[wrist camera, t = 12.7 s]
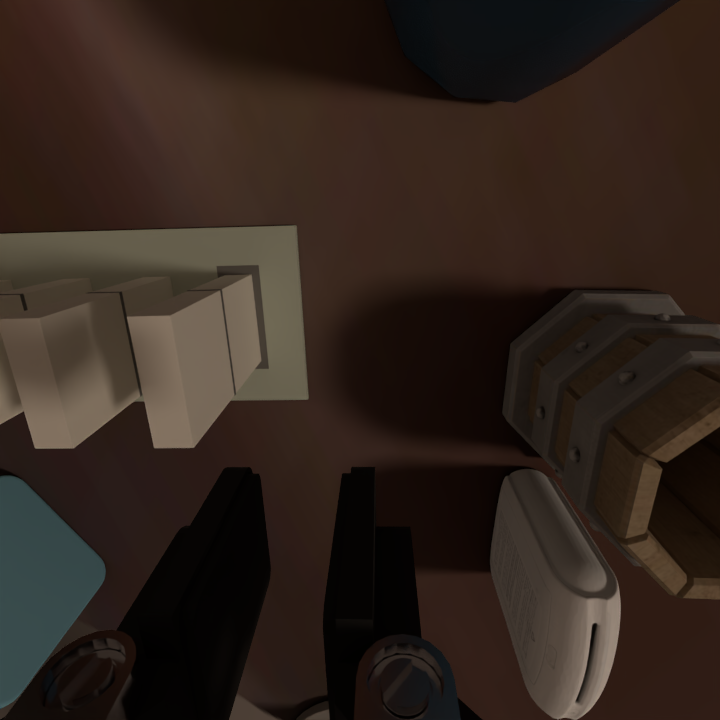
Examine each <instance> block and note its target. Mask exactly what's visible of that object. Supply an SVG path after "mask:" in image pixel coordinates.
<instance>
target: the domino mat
mask: <svg viewBox="0 0 720 720" xmlns="http://www.w3.org/2000/svg"><path fill="white" fill-rule="evenodd" d="M246 274H252V282H253V291H254V300H255V308H256V317H257V326H258V335H259V344H260V353H261V362H260V363H259V364H258V366H257V367H256V368H255V370H254V371H253V372H252V373H251V375H250V376H249V377H248V379H247V380H246V381H245V382H244V384H243V385H242V386H241V388H240V389H239V390H238V391H237V393H236V395H235V396H234V397H233V398H232V399H231V400H308V398H309V395H308V381H307V367H306V353H305V339H304V324H303V310H302V296H301V282H300V268H299V254H298V240H297V225H292V226H256V227H221V228H185V229H150V230H114V231H79V232H43V233H8V234H0V280H11V282H12V286H13V290H15V289H20V288H24V287H29V286H33V285H38V284H43V283H47V282H52V281H56V280H61V279H78V278H90V281H91V286H92V290H93V291H96V290H100V289H103V288H107V287H110V286H114V285H117V284H121V283H124V282H128V281H131V280H135V279H138V278H142V277H165V276H170V278H171V284H172V290H173V296H177V295H179V294H181V293H184V292H186V291H187V290H191V289H193V288H196V287H198V286H200V285H203V284H205V283H207V282H210V281H212V280H215V279H217V278H219V277H222V276H224V275H246ZM135 401H144V397H143V395H142V396H141V397H139V398H137V399H136V400H135Z"/></svg>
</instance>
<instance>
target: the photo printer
mask: <svg viewBox="0 0 720 720" xmlns="http://www.w3.org/2000/svg"><path fill="white" fill-rule="evenodd" d="M490 568H491V575H492V578H493V582H494V585H495V588H496V591H497V594H498V598H499V601H500V604H501V607H502V611H503V614H504V617H505V620H506V623H507V627H508V630H509V633H510V636H511V640H512V643H513V646H514V650H515V653H516V656H517V659H518V662H519V666H520V669H521V672H522V676H523V679H524V682H525V685H526V688H527V690H528V692H529V694H530V695H531V697H532V699H533V700H534V701H535V702H536V704H537V705H538V706H539V707H540V708H541V709H542V710H543V711H544V712H546V713H547V714H548V715H550V716H551V717H553V718H555V719H560V718H571V719H574V720H576V719H578V718H580V717H582V716H583V715H584V714H586V713H587V712H588V711H589V710H590V709H591V708H592V707H593V705H594V704H595V703H596V701H597V700H598V698H599V697H600V695H601V693H602V691H603V689H604V687H605V685H606V682H607V680H608V677H609V674H610V671H611V668H612V664H613V660H614V656H615V651H616V646H617V641H618V634H619V625H620V612H621V605H620V593H619V587H618V582H617V579H616V576H615V574H614V572H613V571H612V569H611V568H610V566H609V565H608V563H607V561H606V560H605V558H604V557H603V555H602V553H601V552H600V550H599V549H598V547H597V546H596V544H595V542H594V541H593V539H592V538H591V536H590V535H589V533H588V531H587V530H586V528H585V527H584V525H583V523H582V522H581V520H580V519H579V517H578V516H577V514H576V513H575V511H574V510H573V508H572V506H571V505H570V503H569V502H568V500H567V499H566V497H565V495H564V494H563V492H562V491H561V489H560V488H559V486H558V485H557V483H556V482H555V481H554V480H553V479H552V478H551V477H546V476H545V475H544V474H543V473H542V472H540V471H537V470H533V469H521V470H517V471H515V472H512V473H511V474H510V476H506V477H505V478H504V481H503V483H502V486H501V490H500V495H499V500H498V505H497V511H496V517H495V524H494V530H493V537H492V544H491V553H490Z"/></svg>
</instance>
